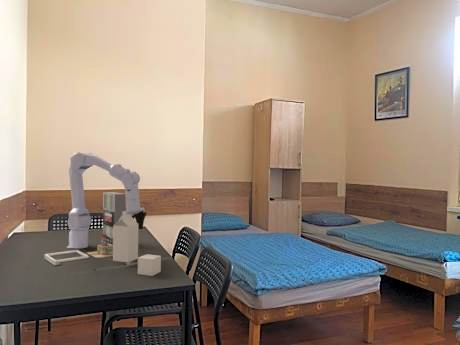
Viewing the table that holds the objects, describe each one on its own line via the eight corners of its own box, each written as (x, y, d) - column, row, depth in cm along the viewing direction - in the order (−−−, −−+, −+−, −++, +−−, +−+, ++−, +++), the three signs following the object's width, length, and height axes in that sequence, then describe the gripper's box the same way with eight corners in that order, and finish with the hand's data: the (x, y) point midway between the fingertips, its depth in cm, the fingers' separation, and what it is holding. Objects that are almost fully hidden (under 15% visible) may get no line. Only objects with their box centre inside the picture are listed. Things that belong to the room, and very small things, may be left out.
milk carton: (138, 260, 156) (138, 214, 156) (128, 265, 150) (128, 216, 149) (123, 259, 159) (123, 213, 158) (112, 263, 152) (113, 215, 151)
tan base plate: (85, 254, 164) (86, 241, 164) (112, 251, 172) (112, 238, 172) (97, 260, 156) (97, 246, 155) (124, 256, 163) (124, 243, 163)
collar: (97, 252, 164) (97, 245, 164) (108, 251, 167) (108, 243, 167) (103, 256, 159) (104, 247, 159) (115, 254, 162) (115, 246, 162)
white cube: (152, 276, 136) (152, 259, 136) (137, 274, 138) (137, 257, 138) (160, 271, 142) (161, 255, 141) (146, 270, 144) (147, 254, 144)
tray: (44, 258, 157) (44, 254, 157) (77, 254, 166) (77, 249, 166) (54, 265, 147) (54, 260, 147) (88, 260, 156) (89, 255, 156)
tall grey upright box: (100, 242, 189) (101, 192, 189) (112, 241, 193) (113, 192, 193) (112, 247, 179) (113, 194, 178) (125, 246, 183) (125, 193, 182)
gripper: (131, 200, 160) (134, 232, 160) (149, 197, 173) (152, 227, 173) (116, 201, 162) (119, 233, 162) (135, 198, 176) (138, 228, 176)
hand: (135, 230), depth 168 cm, fingers open, 7 cm apart
